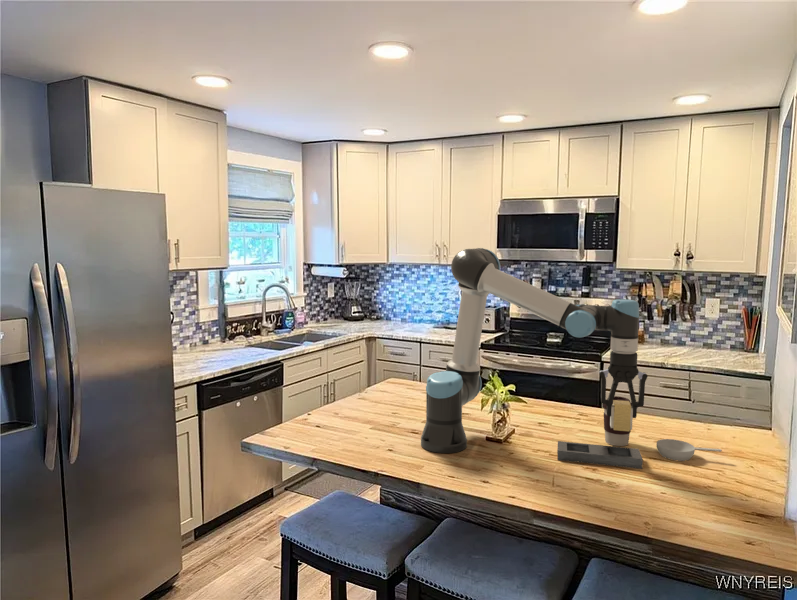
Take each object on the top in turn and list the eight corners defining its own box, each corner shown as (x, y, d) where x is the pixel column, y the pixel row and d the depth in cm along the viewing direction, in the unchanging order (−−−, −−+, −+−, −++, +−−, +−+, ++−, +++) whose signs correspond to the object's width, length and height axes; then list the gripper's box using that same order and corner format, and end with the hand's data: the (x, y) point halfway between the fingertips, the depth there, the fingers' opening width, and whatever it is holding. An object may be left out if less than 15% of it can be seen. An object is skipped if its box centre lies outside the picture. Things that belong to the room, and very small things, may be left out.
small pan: (654, 447, 179) (655, 436, 179) (717, 455, 173) (718, 443, 172) (657, 459, 169) (657, 447, 169) (724, 468, 163) (724, 456, 162)
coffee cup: (635, 449, 177) (637, 404, 176) (603, 447, 179) (605, 402, 178) (629, 438, 187) (631, 395, 185) (598, 436, 189) (600, 393, 187)
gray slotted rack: (557, 460, 169) (557, 450, 168) (557, 450, 177) (557, 441, 176) (642, 469, 162) (642, 459, 162) (638, 458, 170) (638, 448, 170)
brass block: (612, 425, 169) (613, 400, 168) (628, 426, 168) (629, 401, 167) (613, 430, 165) (614, 404, 164) (629, 431, 164) (631, 405, 163)
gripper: (593, 352, 163) (591, 428, 165) (658, 355, 158) (654, 434, 161) (591, 347, 170) (589, 421, 172) (653, 350, 165) (650, 425, 168)
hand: (620, 427), depth 166 cm, fingers closed on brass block, 4 cm apart
